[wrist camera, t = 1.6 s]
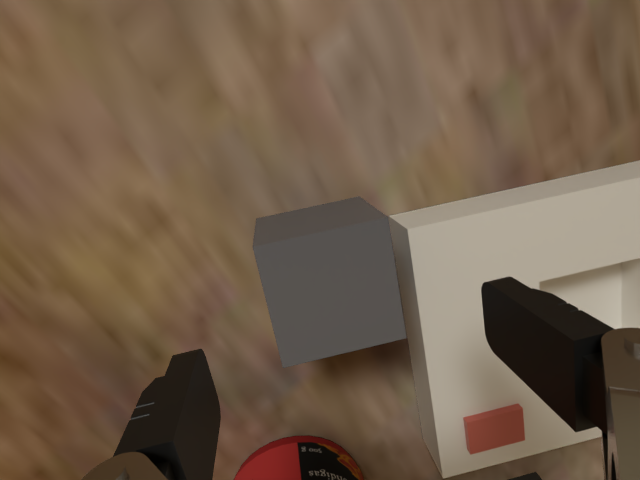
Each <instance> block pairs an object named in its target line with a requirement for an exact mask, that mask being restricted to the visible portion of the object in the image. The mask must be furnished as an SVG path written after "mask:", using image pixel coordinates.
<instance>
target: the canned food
mask: <svg viewBox="0 0 640 480" xmlns="http://www.w3.org/2000/svg"><path fill="white" fill-rule="evenodd" d="M234 480H364V479H363V476H362V473H361V470H360V469H359V467H358V466H357V464H356V463H355V462H354V460H353V459H352V458H351V456H350V455H349V454H348V453H347V452H346V451H345V450H344V449H343V448H342V447H341V446H339V445H337V444H335V443H334V442H332V441H329V440H326V439H323V438H320V437H314V436H292V437H287V438H282V439H279V440H276V441H273V442H271V443H269V444H267V445H265V446H263V447H261V448H259V449H258V450H257V451H256V452H254V453H253V454H252V455H250V456H249V457H248V459H247V460H246V461H245V462H244V463H243V464H242V466H241V467H240V469H239V471H238V472H237V474H236V476H235V478H234Z"/></svg>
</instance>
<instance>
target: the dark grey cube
mask: <svg viewBox="0 0 640 480" xmlns="http://www.w3.org/2000/svg"><path fill="white" fill-rule="evenodd" d="M253 250H254V254H255V258H256V262H257V266H258V270H259V274H260V278H261V282H262V286H263V290H264V294H265V298H266V302H267V306H268V310H269V314H270V318H271V322H272V326H273V330H274V334H275V338H276V342H277V346H278V350H279V354H280V358H281V362H282V366H283V368H285V367H289V366H293V365H298V364H302V363H306V362H310V361H314V360H318V359H322V358H327V357H331V356H335V355H339V354H343V353H347V352H351V351H356V350H360V349H364V348H368V347H372V346H376V345H381V344H385V343H389V342H393V341H397V340H401V339H405V338H407V337H406V330H405V324H404V317H403V311H402V304H401V298H400V291H399V285H398V278H397V272H396V265H395V259H394V252H393V246H392V239H391V233H390V226H389V220H388V217H387V216H386V215H384V214H383V213H382V212H380V211H379V210H377V209H376V208H375V207H373V206H372V205H370V204H369V203H368V202H366V201H365V200H364V199H362V198H361V197H354V198H350V199H345V200H340V201H336V202H331V203H327V204H322V205H317V206H313V207H308V208H303V209H299V210H294V211H290V212H285V213H280V214H276V215H271V216H266V217H262V218H257V219H256V225H255V233H254V241H253Z"/></svg>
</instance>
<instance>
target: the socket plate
mask: <svg viewBox="0 0 640 480" xmlns="http://www.w3.org/2000/svg"><path fill="white" fill-rule="evenodd" d="M389 221H390V228H391V234H392V241H393V247H394V254H395V261H396V267H397V274H398V280H399V287H400V293H401V300H402V306H403V313H404V319H405V326H406V332H407V339H408V345H409V352H410V358H411V365H412V371H413V378H414V384H415V391H416V397H417V404H418V411H419V417H420V424H421V430H422V437H423V440H424V442H425V444H426V446H427V448H428V450H429V452H430V454H431V456H432V458H433V460H434V462H435V464H436V466H437V468H438V470H439V472H440V474H441V476H442V478H443V479H444V478H448V477H451V476H455V475H459V474H463V473H466V472H470V471H474V470H478V469H481V468H485V467H489V466H493V465H497V464H500V463H504V462H508V461H512V460H515V459H519V458H523V457H527V456H530V455H534V454H538V453H542V452H545V451H549V450H553V449H557V448H560V447H564V446H568V445H572V444H575V443H579V442H583V441H587V440H590V439H594V438H598V437H601V430H600V429H599V428H598V427H594V428H591V429H587V430H583V431H580V432H575V431H574V430H573V429H572V428H571V427H570V426H569V425H568V424H567V423H566V422H564V421H563V420H562V419H561V418H560V417H559V416H558V415H557V414H556V413H555V412H554V411H553V410H552V409H551V408H550V407H549V406H548V405H547V404H546V403H545V402H544V401H543V400H542V399H541V398H540V397H539V396H538V395H537V394H536V393H535V392H533V391H532V390H531V389H530V388H529V387H528V386H527V385H526V384H525V383H524V382H523V381H522V380H521V379H520V378H519V377H518V376H517V375H516V374H515V373H514V372H513V371H512V370H511V369H510V368H509V367H508V366H507V365H506V364H505V363H504V362H502V361H501V360H500V359H499V358H498V357H497V356H496V355H495V354H494V353H493V351H492V350H491V348H490V346H489V344H488V342H487V339H486V336H485V329H484V318H483V307H482V295H481V287H482V284H483V283H484V282H488V281H492V280H496V279H500V278H504V277H509V276H510V277H513V278H514V279H516V280H518V281H519V282H521V283H523V284H525V285H526V286H528V287H530V288H531V289H532V288H534V289H538V290H541V291H545V292H548V293H552V294H554V295H556V296H557V297H559V298H561V299H563V300H564V301H566V302H567V304H568V303H570V304H571V305H573V306H575V307H577V308H578V310H582V311H584V312H586V313H587V314H589V315H591V316H593V317H594V318H596V319H598V320H600V321H601V322H603V323H605V324H607V325H608V326H610V327H612V328H614V329H619V328H640V161H635V162H631V163H626V164H622V165H617V166H613V167H608V168H604V169H599V170H595V171H590V172H586V173H581V174H577V175H572V176H567V177H563V178H558V179H554V180H549V181H545V182H540V183H536V184H531V185H527V186H522V187H518V188H513V189H509V190H504V191H500V192H495V193H491V194H486V195H481V196H477V197H472V198H468V199H463V200H459V201H454V202H450V203H445V204H441V205H436V206H432V207H427V208H423V209H418V210H414V211H409V212H405V213H400V214H395V215H391V216H389Z"/></svg>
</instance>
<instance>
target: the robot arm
mask: <svg viewBox="0 0 640 480" xmlns="http://www.w3.org/2000/svg"><path fill="white" fill-rule="evenodd" d="M481 295H482V307H483V318H484V329H485V336H486V339H487V342H488V344H489V346H490V348H491V350H492V351H493V353H494V354H495V355H496V356H497V357H498V358H499V359H500V360H501V361H502V362H504V363H505V364H506V365H507V366H508V367H509V368H510V369H511V370H512V371H513V372H514V373H515V374H516V375H517V376H518V377H519V378H520V379H521V380H522V381H523V382H524V383H525V384H526V385H527V386H528V387H529V388H530V389H531V390H532V391H533V392H535V393H536V394H537V395H538V396H539V397H540V398H541V399H542V400H543V401H544V402H545V403H546V404H547V405H548V406H549V407H550V408H551V409H552V410H553V411H554V412H555V413H556V414H557V415H558V416H559V417H560V418H561V419H562V420H563V421H564V422H566V423H567V424H568V425H569V426H570V427H571V428H572V429H573V430H574V431H575V432H580V431H583V430H587V429H591V428H594V427H598V428H599V429H600V430H601V442H602V457H603V469H604V480H640V328H619V329H614V328H612V327H610V326H608V325H607V324H605V323H603V322H601V321H600V320H598V319H596V318H594V317H593V316H591V315H589V314H587V313H586V312H584V311H582V310H578V308H577V307H575V306H573V305H571V304H570V303H568V304H567V302H566V301H564V300H563V299H561V298H559V297H557V296H556V295H554V294H552V293H548V292H545V291H541V290H538V289H534V288H532V289H531V288H530V287H528V286H526V285H525V284H523V283H521V282H519V281H518V280H516V279H514V278H513V277H510V276H509V277H504V278H500V279H496V280H492V281H488V282H484V283H483V284H482V287H481ZM220 418H221V416H220V405H219V400H218V396H217V393H216V389H215V386H214V383H213V379H212V376H211V373H210V370H209V366H208V363H207V360H206V356H205V354H204V352H203V350H202V349H198V350H193V351H189V352H185V353H181V354H177V355H173V356H172V358H171V361H170V364H169V366H168V369H167V371H166V374H165V376H163V377H159V378H155V379H154V380H153V382H152V383H151V384H150V385H149V386H148V387H147V388H146V389H145V390H144V391H143V392H142V394H141V396H140V398H139V401H138V403H137V405H136V409H134V412H133V414H132V416H131V420H130V421H129V423H128V425H127V427H126V429H125V431H124V434H123V436H122V438H121V440H120V442H119V445H118V447H117V449H116V451H115V453H114V456H113V457H112V458H110V459H107V460H106V461H104V462H102V463H100V464H99V465H97V466H96V467H95V468H93V469H92V470H91V471H90V472H88V473H87V474H86V475H85V476H84V477H83V478H82V480H212V477H213V470H214V463H215V456H216V449H217V442H218V434H219V427H220ZM509 480H542V479H541V478H540V477H539V475H538V474H537V473H536V472H534V473H530V474H527V475H523V476H520V477H516V478H512V479H509Z"/></svg>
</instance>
